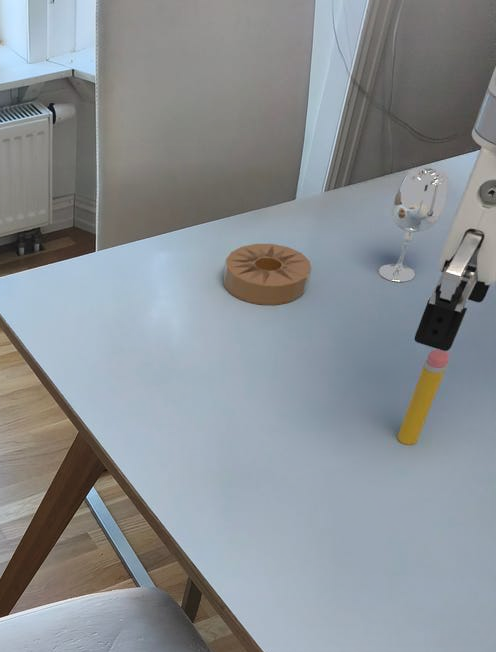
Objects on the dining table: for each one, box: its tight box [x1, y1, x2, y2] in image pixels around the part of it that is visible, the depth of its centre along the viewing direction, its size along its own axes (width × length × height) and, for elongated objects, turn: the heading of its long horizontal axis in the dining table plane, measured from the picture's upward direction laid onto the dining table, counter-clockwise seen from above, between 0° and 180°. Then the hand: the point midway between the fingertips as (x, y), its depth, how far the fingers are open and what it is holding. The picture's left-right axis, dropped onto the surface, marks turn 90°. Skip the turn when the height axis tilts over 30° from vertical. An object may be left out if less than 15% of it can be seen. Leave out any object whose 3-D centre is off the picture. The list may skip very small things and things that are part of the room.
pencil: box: [397, 349, 451, 446], centre depth 88 cm, size 2×2×10 cm
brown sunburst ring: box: [222, 243, 312, 306], centre depth 112 cm, size 10×10×3 cm
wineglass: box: [378, 167, 449, 283], centre depth 108 cm, size 6×6×12 cm
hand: (449, 320), depth 82 cm, fingers open, 9 cm apart
